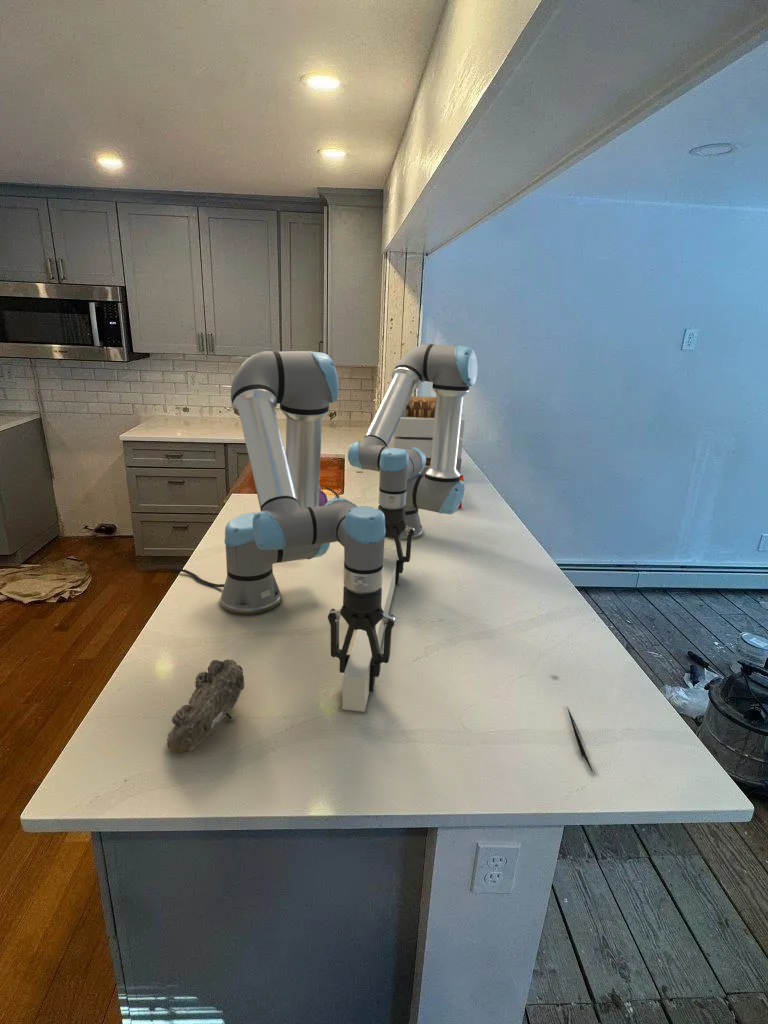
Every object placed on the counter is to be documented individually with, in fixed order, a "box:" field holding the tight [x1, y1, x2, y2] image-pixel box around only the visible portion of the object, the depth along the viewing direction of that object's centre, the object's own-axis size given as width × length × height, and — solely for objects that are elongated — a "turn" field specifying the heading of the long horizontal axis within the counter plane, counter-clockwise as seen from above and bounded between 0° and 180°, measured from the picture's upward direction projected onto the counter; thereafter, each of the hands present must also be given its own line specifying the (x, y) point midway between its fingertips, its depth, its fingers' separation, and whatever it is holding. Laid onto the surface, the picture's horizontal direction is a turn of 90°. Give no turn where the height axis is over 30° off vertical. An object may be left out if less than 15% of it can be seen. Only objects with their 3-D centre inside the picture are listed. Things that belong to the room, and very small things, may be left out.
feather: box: [554, 675, 593, 772], centre depth 111 cm, size 2×28×2 cm
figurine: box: [319, 483, 329, 506], centre depth 216 cm, size 9×10×15 cm
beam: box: [341, 548, 398, 713], centre depth 140 cm, size 63×4×8 cm, turn 173°
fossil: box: [166, 658, 245, 754], centre depth 106 cm, size 22×10×15 cm
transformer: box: [388, 395, 465, 475], centre depth 268 cm, size 34×33×41 cm
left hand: (359, 686), depth 118 cm, fingers closed on beam, 4 cm apart
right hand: (387, 581), depth 163 cm, fingers closed on beam, 4 cm apart
